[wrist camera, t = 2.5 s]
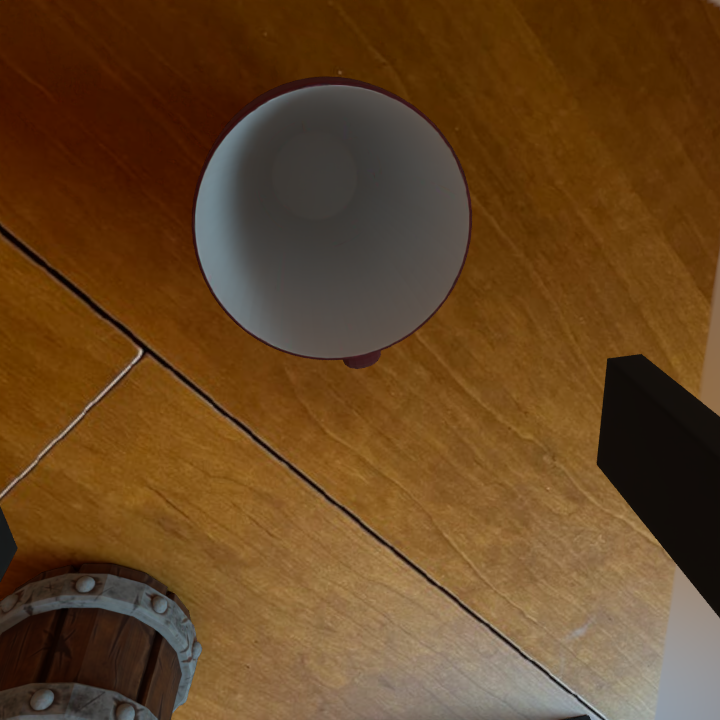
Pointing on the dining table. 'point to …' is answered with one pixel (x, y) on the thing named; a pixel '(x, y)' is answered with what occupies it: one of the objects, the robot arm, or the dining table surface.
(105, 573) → the mug
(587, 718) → the bin
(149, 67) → the dining table surface
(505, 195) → the dining table surface
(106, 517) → the dining table surface
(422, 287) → the mug
